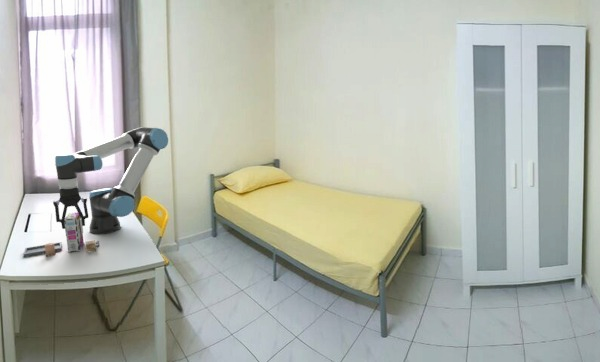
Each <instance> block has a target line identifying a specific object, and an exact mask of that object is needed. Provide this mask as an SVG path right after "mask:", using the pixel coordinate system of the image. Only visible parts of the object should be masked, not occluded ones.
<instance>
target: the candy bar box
mask: <svg viewBox="0 0 600 362" xmlns="http://www.w3.org/2000/svg"><path fill="white" fill-rule="evenodd" d="M80 219H81V217H80V215H79V213H78V212H70V213H68V214H67V216H65V219H64V221H65V229H66V231H65V237H66V245H67V251H68V253H74V252H79V251H81V249H82V247H83V245H84V236H83V235H84V232H83V233H81V226H80ZM65 229H64V230H65Z"/></svg>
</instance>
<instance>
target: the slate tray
mask: <svg viewBox="0 0 600 362" xmlns="http://www.w3.org/2000/svg"><path fill="white" fill-rule="evenodd" d="M53 243H54V245H55V253H57V252H62V251H63V250H62V249H63V243H62V242H53ZM45 245H46V244H42V245H35V246H29V247H25V249H24V251H23V258H27V257H32V256H39V255H44V254H45V255H46V251H45Z"/></svg>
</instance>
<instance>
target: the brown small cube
mask: <svg viewBox="0 0 600 362" xmlns="http://www.w3.org/2000/svg"><path fill="white" fill-rule="evenodd" d="M54 243H55V242H48V243H46V244H44V245H45V251H46V254H45V255H46V257H53V256H55V255H56V253H57V252H55V245H54Z"/></svg>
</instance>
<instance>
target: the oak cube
mask: <svg viewBox="0 0 600 362" xmlns="http://www.w3.org/2000/svg"><path fill="white" fill-rule="evenodd" d="M95 242H96V240H89V241H88V240H87V241H85V250H86V253H89V252H90V253H91V252H96V251H97V247H96V243H95Z"/></svg>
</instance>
